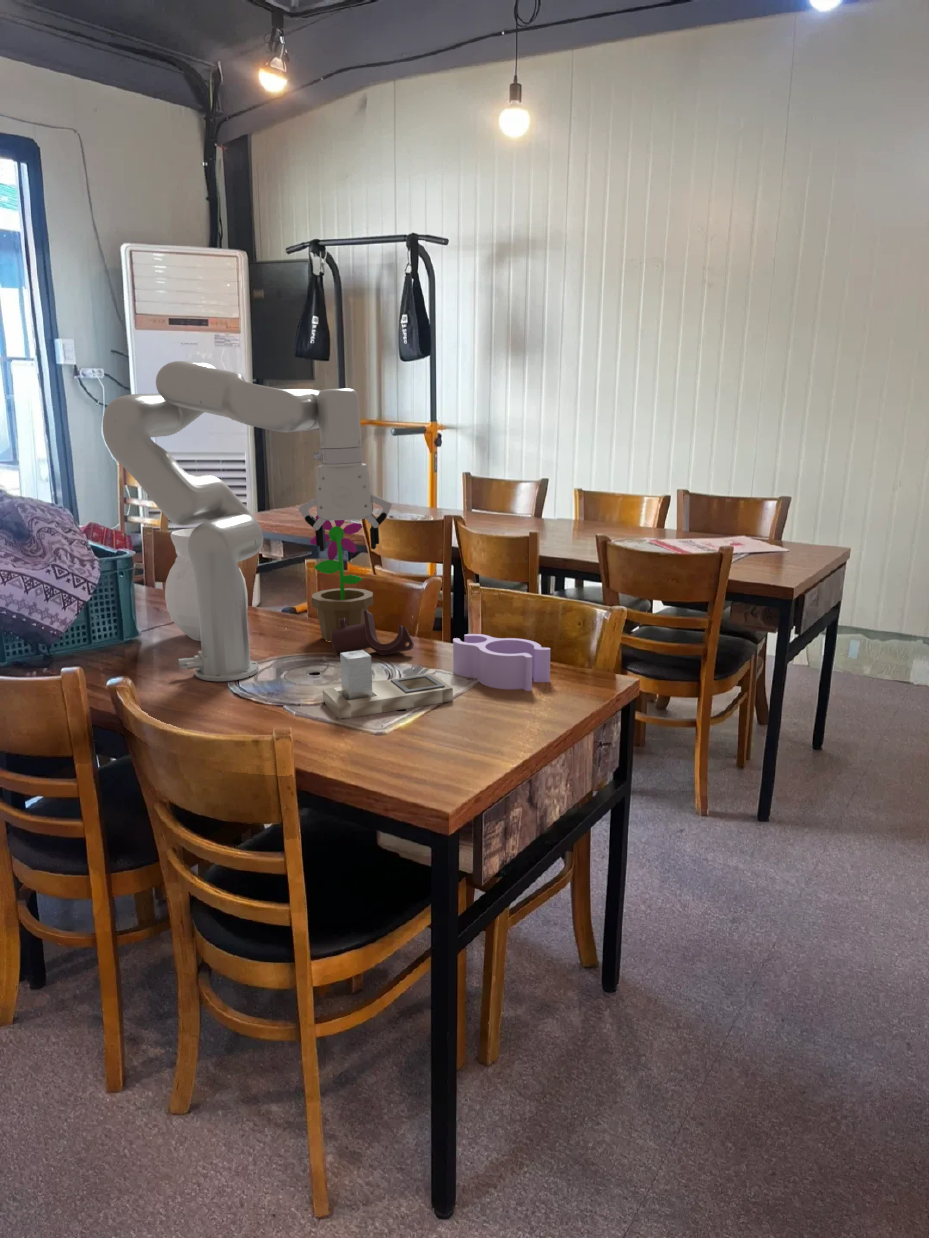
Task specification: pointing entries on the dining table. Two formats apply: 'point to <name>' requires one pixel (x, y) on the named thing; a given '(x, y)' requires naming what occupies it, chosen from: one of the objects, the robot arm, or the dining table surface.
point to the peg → (356, 675)
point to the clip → (501, 661)
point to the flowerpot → (340, 599)
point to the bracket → (367, 638)
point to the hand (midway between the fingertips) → (348, 549)
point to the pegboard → (390, 696)
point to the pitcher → (184, 588)
